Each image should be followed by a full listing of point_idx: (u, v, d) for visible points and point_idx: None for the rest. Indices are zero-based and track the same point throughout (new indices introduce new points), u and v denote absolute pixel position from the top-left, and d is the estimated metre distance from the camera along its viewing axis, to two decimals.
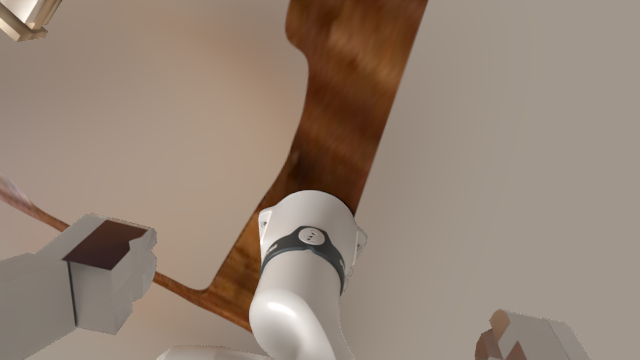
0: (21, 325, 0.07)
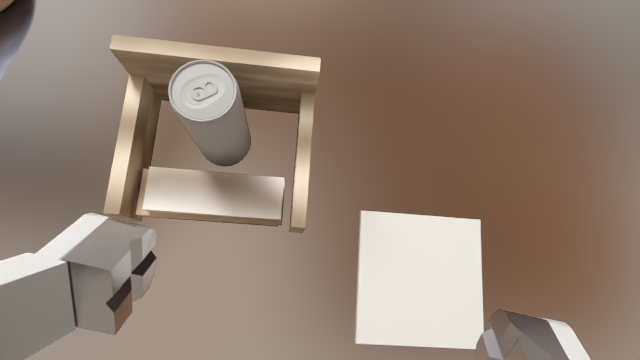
0: (21, 325, 0.07)
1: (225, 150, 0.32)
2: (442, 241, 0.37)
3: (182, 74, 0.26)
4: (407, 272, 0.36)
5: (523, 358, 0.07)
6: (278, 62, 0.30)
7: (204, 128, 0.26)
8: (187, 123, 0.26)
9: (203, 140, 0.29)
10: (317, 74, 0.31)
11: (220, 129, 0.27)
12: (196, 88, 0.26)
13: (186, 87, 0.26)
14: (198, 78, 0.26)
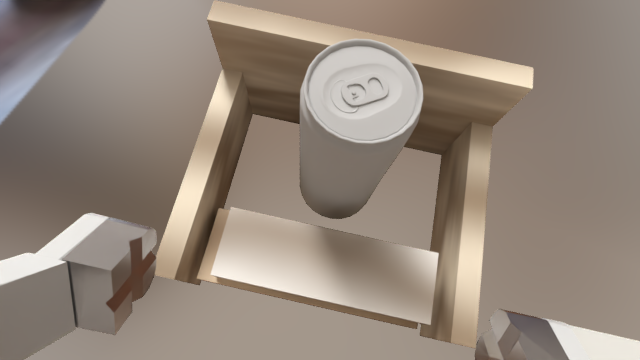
0: (21, 325, 0.07)
1: (353, 197, 0.20)
2: None
3: (329, 59, 0.15)
4: None
5: (523, 358, 0.07)
6: (465, 67, 0.18)
7: (354, 157, 0.15)
8: (327, 144, 0.14)
9: (332, 177, 0.17)
10: (524, 93, 0.19)
11: (376, 161, 0.15)
12: (351, 84, 0.15)
13: (334, 80, 0.15)
14: (356, 69, 0.15)
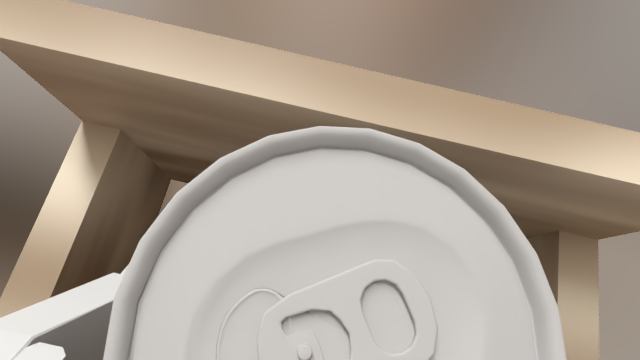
0: None
1: None
2: None
3: (225, 203, 0.04)
4: None
5: None
6: (589, 155, 0.08)
7: None
8: None
9: None
10: None
11: None
12: (298, 313, 0.04)
13: (236, 295, 0.04)
14: (319, 244, 0.04)
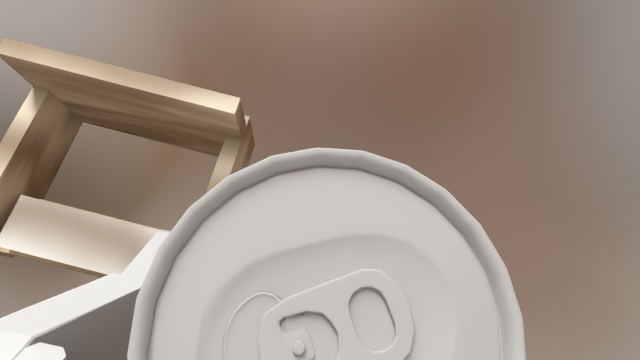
0: (110, 345, 0.07)
1: None
2: None
3: (232, 216, 0.05)
4: None
5: None
6: (187, 95, 0.25)
7: None
8: None
9: None
10: (233, 117, 0.25)
11: None
12: (294, 315, 0.04)
13: (240, 296, 0.05)
14: (314, 254, 0.05)
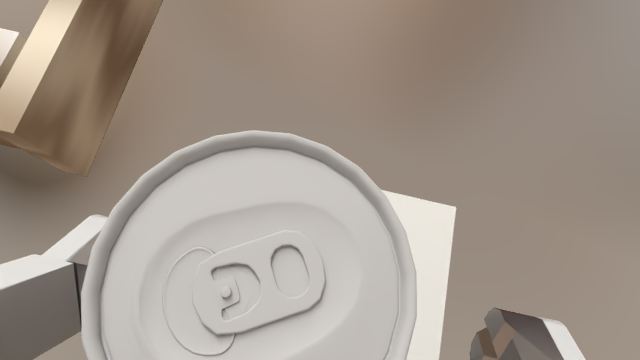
0: (28, 326, 0.07)
1: None
2: None
3: (178, 184, 0.06)
4: None
5: (517, 357, 0.07)
6: None
7: None
8: None
9: None
10: None
11: None
12: (224, 265, 0.05)
13: (180, 249, 0.05)
14: (245, 217, 0.06)
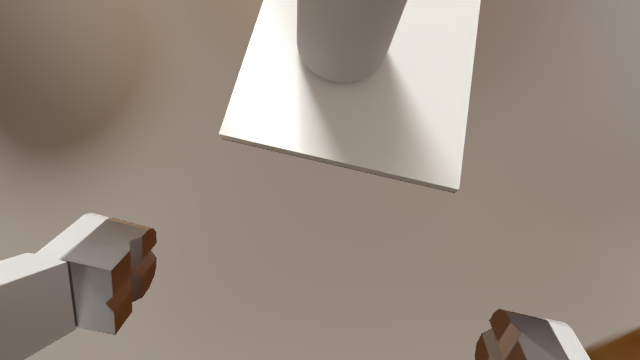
0: (21, 325, 0.07)
1: (367, 14, 0.15)
2: (409, 14, 0.22)
3: None
4: None
5: (523, 358, 0.07)
6: None
7: None
8: None
9: None
10: None
11: None
12: None
13: None
14: None
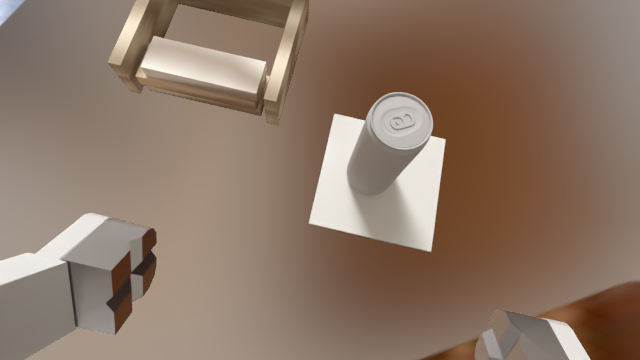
0: (21, 325, 0.07)
1: (386, 180, 0.33)
2: None
3: (383, 102, 0.28)
4: None
5: (523, 358, 0.07)
6: None
7: (394, 156, 0.27)
8: (380, 148, 0.27)
9: (378, 167, 0.30)
10: None
11: (405, 159, 0.28)
12: (395, 117, 0.27)
13: (386, 115, 0.27)
14: (398, 109, 0.28)
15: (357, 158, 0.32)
